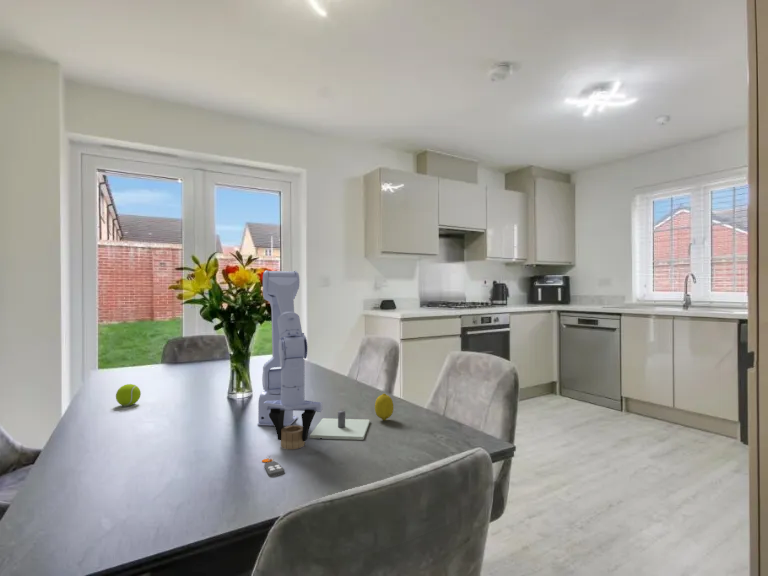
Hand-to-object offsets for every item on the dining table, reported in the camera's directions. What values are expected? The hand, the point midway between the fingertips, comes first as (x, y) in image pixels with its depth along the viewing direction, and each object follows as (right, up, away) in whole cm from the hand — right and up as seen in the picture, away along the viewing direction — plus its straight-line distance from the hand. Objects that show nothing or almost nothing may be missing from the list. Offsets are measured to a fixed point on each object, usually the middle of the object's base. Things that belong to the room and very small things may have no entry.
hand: (292, 439), depth 103 cm
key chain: (-3, -2, -11) cm, 11 cm away
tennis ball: (-62, -2, +34) cm, 71 cm away
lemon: (+23, -2, +19) cm, 30 cm away
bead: (0, -1, 0) cm, 1 cm away
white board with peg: (+11, -1, +11) cm, 16 cm away
